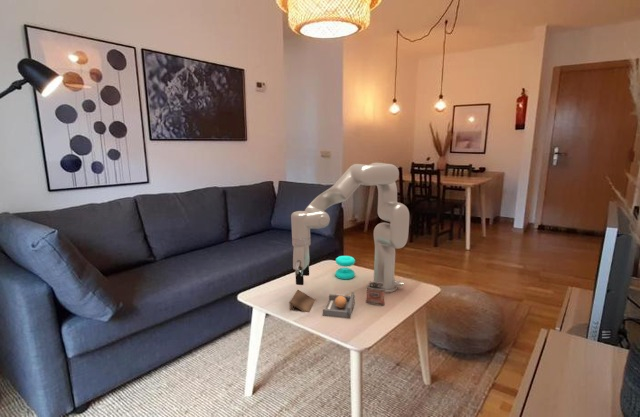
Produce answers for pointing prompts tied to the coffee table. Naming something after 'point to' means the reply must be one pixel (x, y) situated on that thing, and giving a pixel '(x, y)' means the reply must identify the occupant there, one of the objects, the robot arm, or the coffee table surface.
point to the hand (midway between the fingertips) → (302, 279)
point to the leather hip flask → (375, 293)
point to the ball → (340, 301)
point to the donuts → (345, 261)
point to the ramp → (301, 301)
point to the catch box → (339, 312)
